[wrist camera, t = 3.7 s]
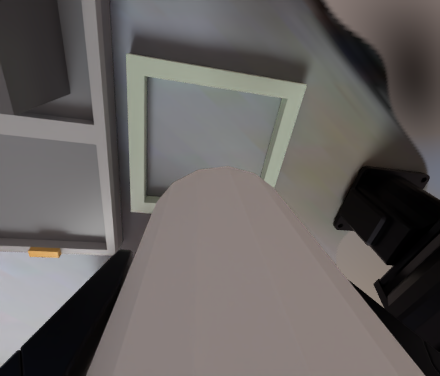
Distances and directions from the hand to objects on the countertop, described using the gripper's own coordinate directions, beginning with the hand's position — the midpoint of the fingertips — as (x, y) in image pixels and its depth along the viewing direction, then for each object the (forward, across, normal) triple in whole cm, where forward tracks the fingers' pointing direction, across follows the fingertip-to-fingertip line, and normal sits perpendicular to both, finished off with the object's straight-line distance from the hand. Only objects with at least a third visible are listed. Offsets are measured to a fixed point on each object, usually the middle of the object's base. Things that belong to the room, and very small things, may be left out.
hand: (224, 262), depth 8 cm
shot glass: (+2, 0, 0) cm, 2 cm away
